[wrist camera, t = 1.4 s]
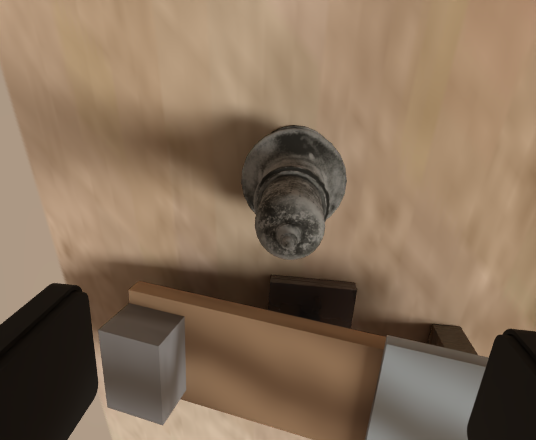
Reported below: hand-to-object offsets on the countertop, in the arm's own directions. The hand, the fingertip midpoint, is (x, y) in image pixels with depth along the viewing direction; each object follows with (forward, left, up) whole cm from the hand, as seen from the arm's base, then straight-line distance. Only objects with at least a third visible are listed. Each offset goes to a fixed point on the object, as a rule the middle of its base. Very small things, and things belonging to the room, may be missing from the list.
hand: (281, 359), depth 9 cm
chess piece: (0, 0, -18) cm, 18 cm away
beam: (+12, +2, -12) cm, 17 cm away
